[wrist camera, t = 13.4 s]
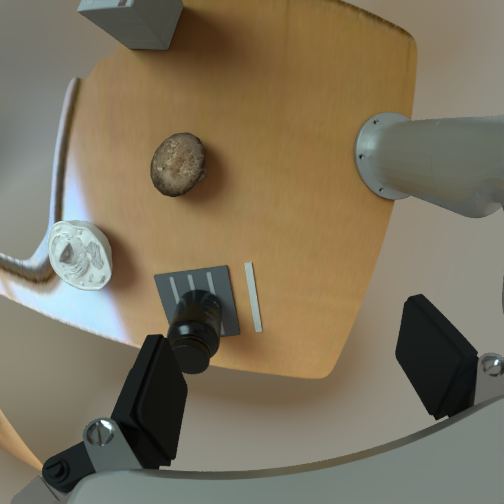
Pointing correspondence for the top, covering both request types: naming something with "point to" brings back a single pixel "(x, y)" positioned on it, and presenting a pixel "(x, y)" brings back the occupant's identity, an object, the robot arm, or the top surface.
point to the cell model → (80, 254)
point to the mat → (204, 279)
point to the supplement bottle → (195, 330)
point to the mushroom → (178, 164)
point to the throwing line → (253, 296)
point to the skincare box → (135, 20)
